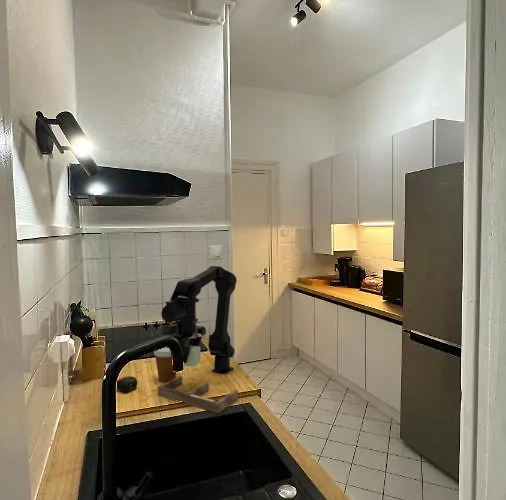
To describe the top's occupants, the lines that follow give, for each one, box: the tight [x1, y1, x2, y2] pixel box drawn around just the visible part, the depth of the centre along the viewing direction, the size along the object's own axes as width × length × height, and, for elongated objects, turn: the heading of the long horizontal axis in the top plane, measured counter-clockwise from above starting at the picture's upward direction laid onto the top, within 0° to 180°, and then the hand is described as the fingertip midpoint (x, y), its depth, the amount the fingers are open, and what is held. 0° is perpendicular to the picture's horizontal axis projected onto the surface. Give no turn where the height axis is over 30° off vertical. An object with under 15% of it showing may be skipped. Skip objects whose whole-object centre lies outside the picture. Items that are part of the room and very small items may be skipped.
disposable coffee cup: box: [153, 347, 177, 383], centre depth 142 cm, size 10×10×12 cm
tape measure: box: [116, 375, 138, 393], centre depth 133 cm, size 7×7×4 cm
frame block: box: [183, 345, 201, 368], centre depth 131 cm, size 5×7×6 cm
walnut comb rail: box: [157, 375, 239, 414], centre depth 126 cm, size 11×26×3 cm, turn 59°
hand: (188, 360), depth 131 cm, fingers closed on frame block, 5 cm apart
